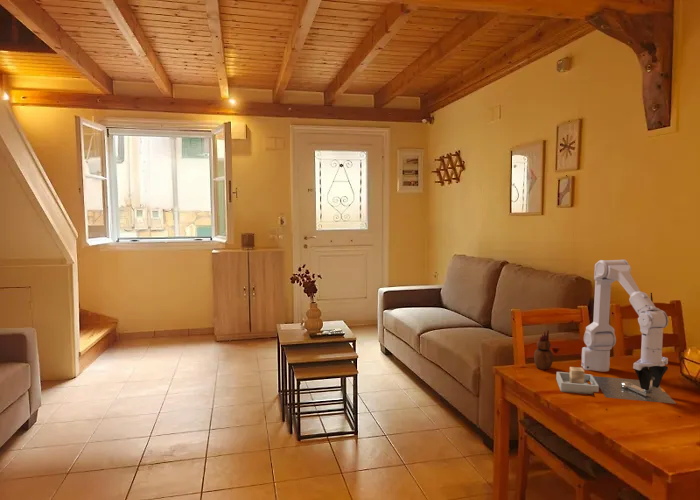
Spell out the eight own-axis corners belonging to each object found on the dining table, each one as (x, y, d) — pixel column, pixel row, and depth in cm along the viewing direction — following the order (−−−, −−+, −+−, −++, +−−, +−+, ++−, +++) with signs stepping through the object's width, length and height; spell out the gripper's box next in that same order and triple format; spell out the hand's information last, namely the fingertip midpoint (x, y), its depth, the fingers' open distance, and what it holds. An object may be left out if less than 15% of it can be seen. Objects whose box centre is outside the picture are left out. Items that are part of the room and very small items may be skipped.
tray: (561, 391, 161) (561, 383, 161) (556, 379, 172) (556, 371, 172) (598, 394, 158) (598, 386, 157) (591, 382, 169) (591, 374, 168)
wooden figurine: (549, 365, 187) (550, 328, 186) (554, 370, 181) (555, 332, 180) (532, 365, 188) (532, 328, 186) (536, 370, 182) (537, 332, 181)
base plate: (605, 400, 153) (605, 396, 153) (592, 378, 172) (592, 375, 172) (676, 406, 148) (676, 403, 148) (654, 383, 167) (654, 380, 167)
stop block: (571, 387, 163) (571, 370, 163) (569, 383, 167) (569, 366, 166) (584, 388, 162) (584, 371, 162) (581, 384, 166) (582, 367, 165)
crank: (618, 385, 162) (619, 365, 162) (627, 383, 163) (627, 364, 163) (648, 398, 151) (649, 377, 150) (657, 397, 152) (658, 376, 151)
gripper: (649, 353, 146) (647, 396, 147) (678, 347, 152) (676, 388, 153) (627, 347, 152) (626, 388, 154) (656, 342, 158) (654, 381, 160)
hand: (649, 387), depth 154 cm, fingers open, 5 cm apart
